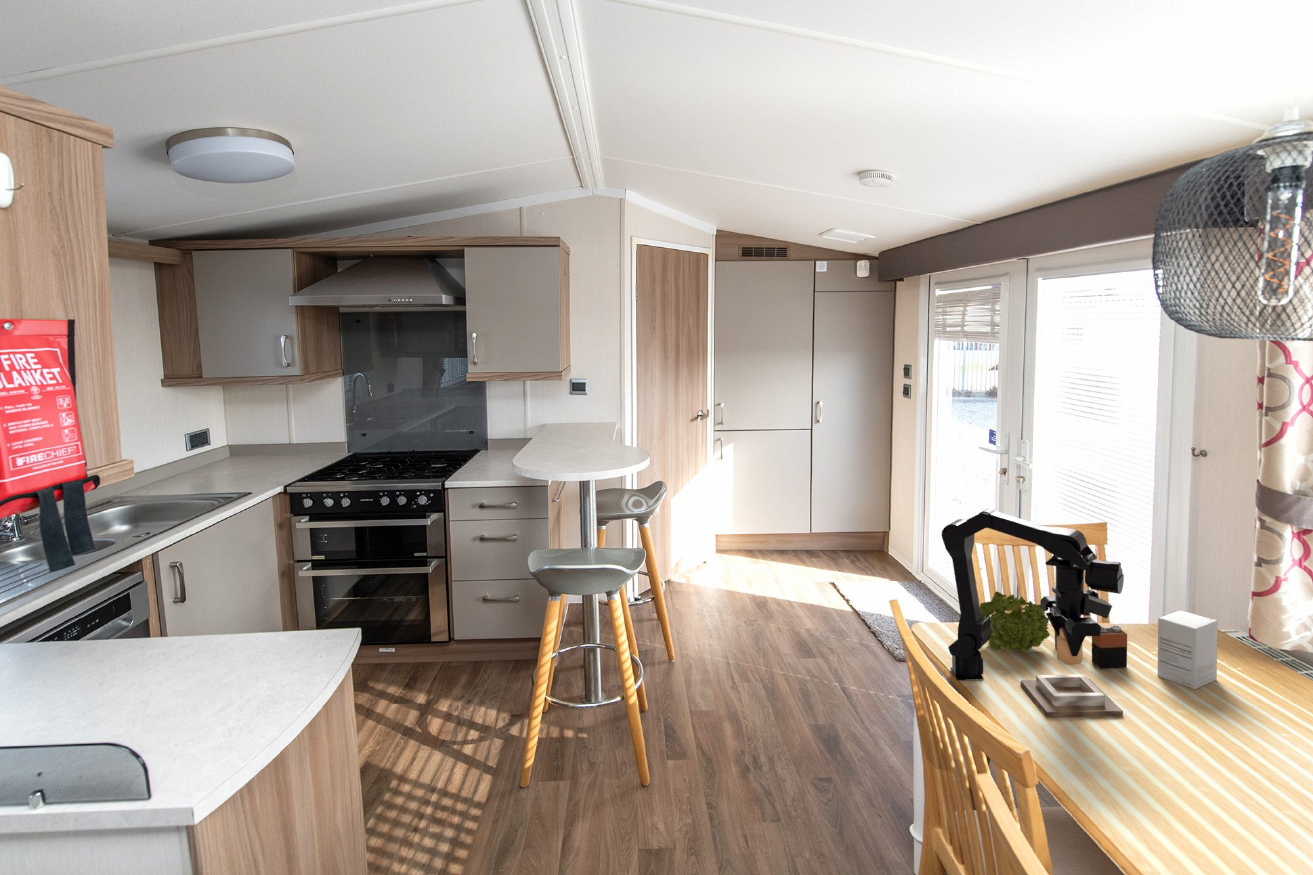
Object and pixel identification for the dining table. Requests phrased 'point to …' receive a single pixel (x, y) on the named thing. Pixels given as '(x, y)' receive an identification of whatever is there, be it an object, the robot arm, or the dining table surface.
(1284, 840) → the dining table surface
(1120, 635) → the battery
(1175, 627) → the supplement box
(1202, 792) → the dining table surface
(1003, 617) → the green leafy plant
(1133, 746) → the dining table surface
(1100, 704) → the collar board
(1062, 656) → the tan rounded cylinder
